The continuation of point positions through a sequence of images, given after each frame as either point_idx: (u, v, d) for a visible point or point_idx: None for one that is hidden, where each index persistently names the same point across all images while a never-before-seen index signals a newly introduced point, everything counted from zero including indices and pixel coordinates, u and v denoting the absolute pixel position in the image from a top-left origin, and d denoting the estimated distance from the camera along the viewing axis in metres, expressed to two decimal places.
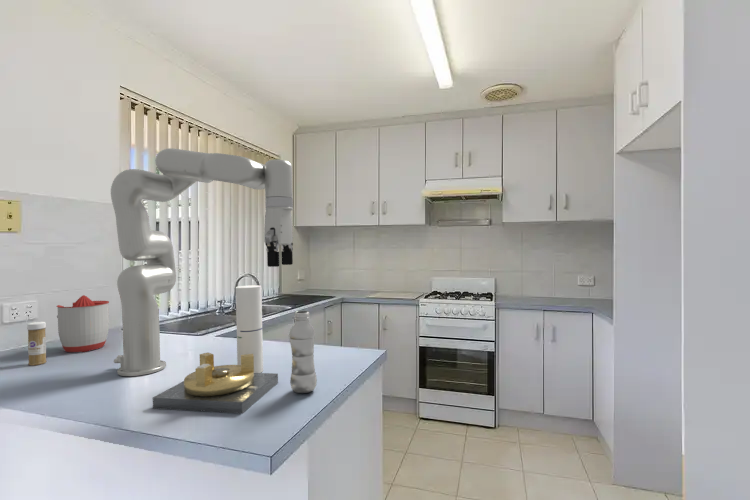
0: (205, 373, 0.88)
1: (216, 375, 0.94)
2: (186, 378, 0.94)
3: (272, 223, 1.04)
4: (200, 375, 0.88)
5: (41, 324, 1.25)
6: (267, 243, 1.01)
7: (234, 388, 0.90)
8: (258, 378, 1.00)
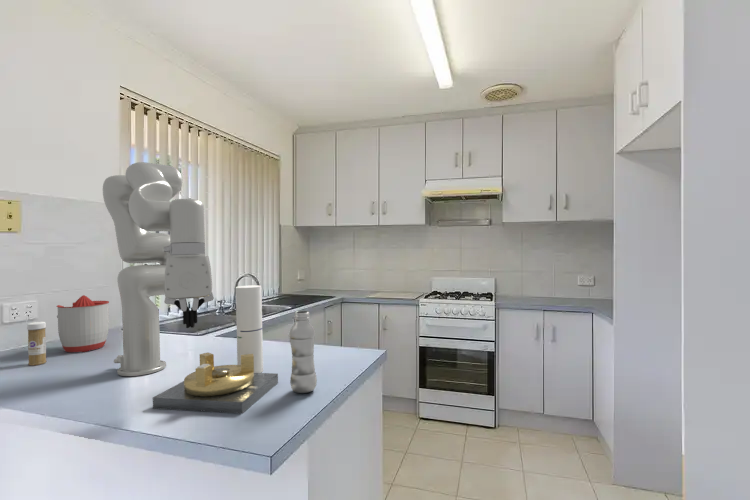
0: (205, 373, 0.88)
1: (216, 375, 0.94)
2: (186, 378, 0.94)
3: None
4: (200, 375, 0.88)
5: (41, 324, 1.25)
6: None
7: (234, 388, 0.90)
8: (258, 378, 1.00)
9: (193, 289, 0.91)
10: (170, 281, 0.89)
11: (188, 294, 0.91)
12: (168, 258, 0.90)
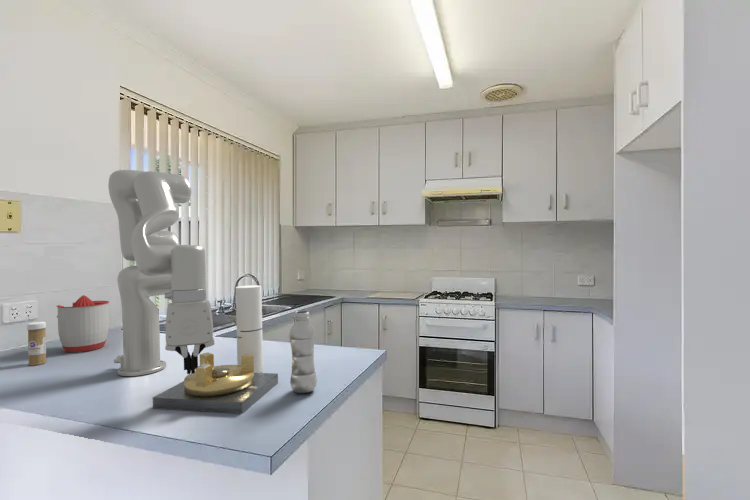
0: (205, 373, 0.88)
1: (216, 375, 0.94)
2: (186, 378, 0.94)
3: None
4: (200, 375, 0.88)
5: (41, 324, 1.25)
6: None
7: (234, 388, 0.90)
8: (258, 378, 1.00)
9: (194, 336, 0.91)
10: (171, 329, 0.89)
11: (189, 341, 0.91)
12: (169, 305, 0.90)
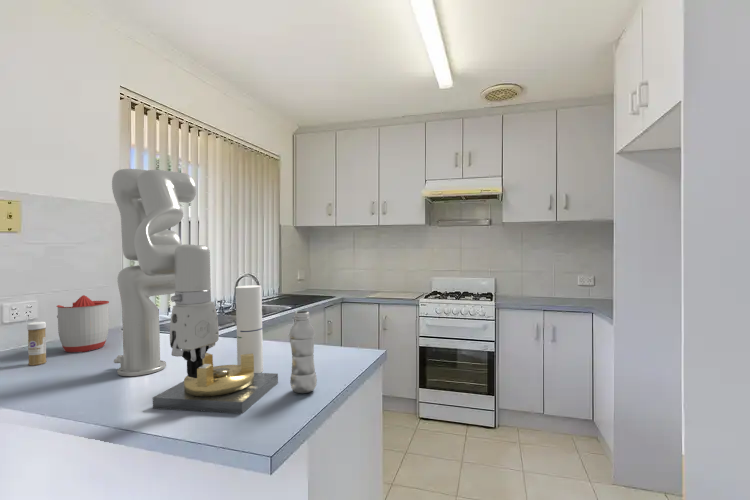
0: (207, 373, 0.88)
1: (216, 375, 0.94)
2: (186, 379, 0.93)
3: None
4: (202, 375, 0.88)
5: (41, 324, 1.25)
6: None
7: (236, 388, 0.91)
8: (258, 378, 1.00)
9: (206, 337, 0.90)
10: (187, 332, 0.86)
11: (202, 343, 0.89)
12: (183, 308, 0.86)
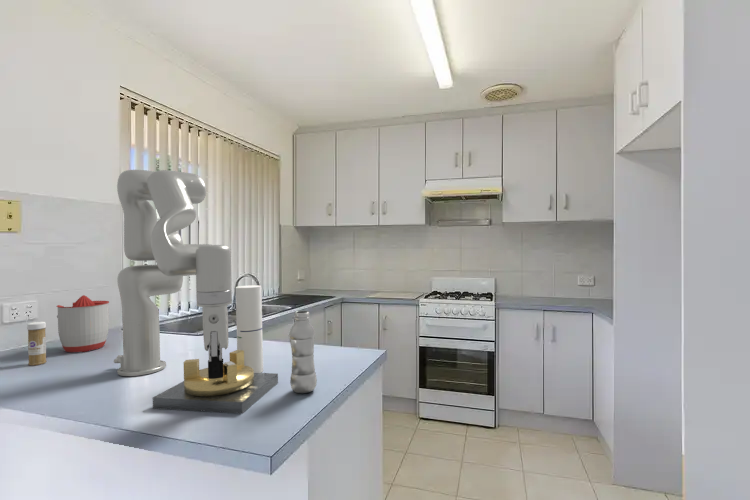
0: None
1: None
2: (196, 385, 0.89)
3: None
4: (232, 372, 0.90)
5: (41, 324, 1.25)
6: None
7: (253, 378, 0.97)
8: (258, 378, 1.00)
9: None
10: (227, 330, 0.87)
11: None
12: (223, 307, 0.86)
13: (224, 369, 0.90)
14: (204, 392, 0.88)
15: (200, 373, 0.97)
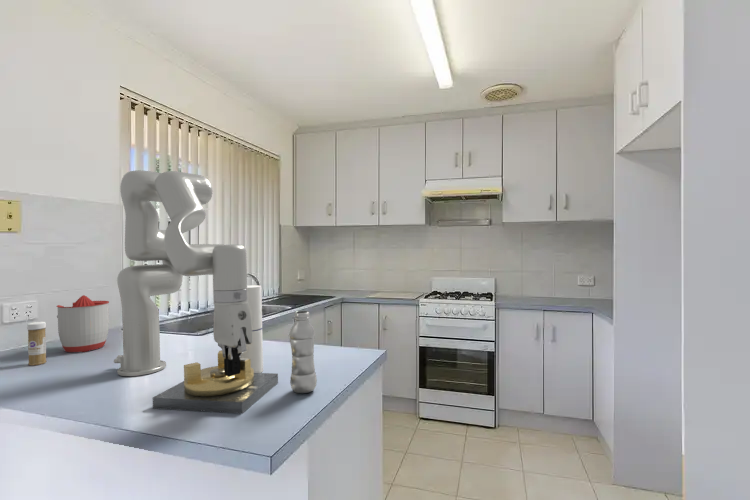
0: None
1: None
2: (214, 385, 0.89)
3: None
4: (248, 366, 0.94)
5: (41, 324, 1.25)
6: None
7: None
8: (258, 378, 1.00)
9: None
10: None
11: None
12: (248, 304, 0.90)
13: None
14: (225, 390, 0.89)
15: None
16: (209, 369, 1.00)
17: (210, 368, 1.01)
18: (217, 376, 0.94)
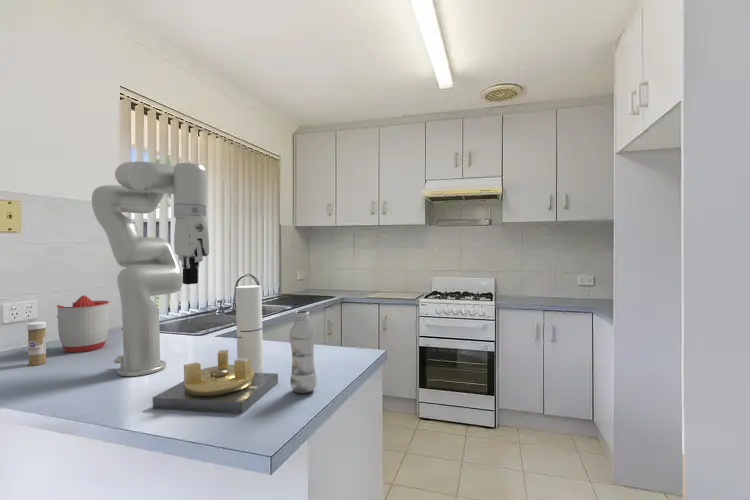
0: None
1: (228, 372, 0.96)
2: (214, 385, 0.89)
3: None
4: (248, 366, 0.94)
5: (41, 324, 1.25)
6: None
7: None
8: (258, 378, 1.00)
9: None
10: None
11: None
12: (205, 219, 0.98)
13: (238, 365, 0.93)
14: (225, 390, 0.89)
15: None
16: (209, 369, 1.00)
17: (210, 368, 1.01)
18: (217, 376, 0.94)
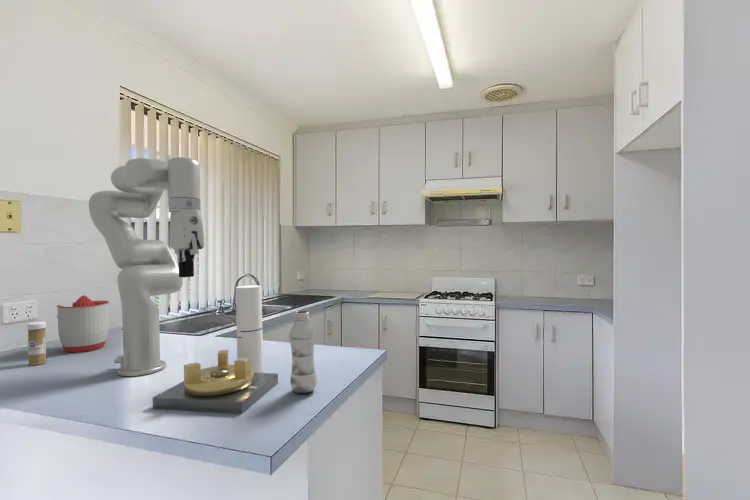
0: None
1: (228, 372, 0.96)
2: (214, 385, 0.89)
3: None
4: (248, 366, 0.94)
5: (41, 324, 1.25)
6: None
7: None
8: (258, 378, 1.00)
9: None
10: None
11: None
12: (200, 212, 1.00)
13: (238, 365, 0.93)
14: (225, 390, 0.89)
15: None
16: (209, 369, 1.00)
17: (210, 368, 1.01)
18: (217, 376, 0.94)
